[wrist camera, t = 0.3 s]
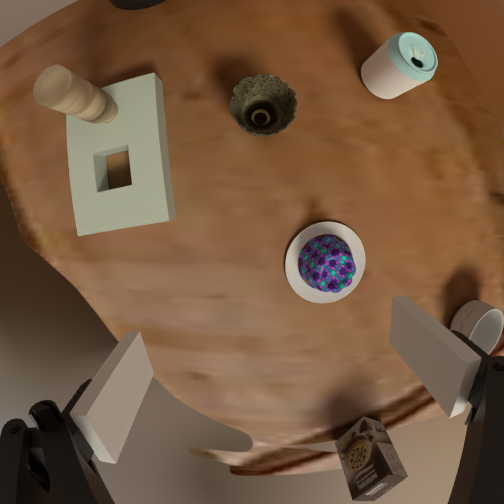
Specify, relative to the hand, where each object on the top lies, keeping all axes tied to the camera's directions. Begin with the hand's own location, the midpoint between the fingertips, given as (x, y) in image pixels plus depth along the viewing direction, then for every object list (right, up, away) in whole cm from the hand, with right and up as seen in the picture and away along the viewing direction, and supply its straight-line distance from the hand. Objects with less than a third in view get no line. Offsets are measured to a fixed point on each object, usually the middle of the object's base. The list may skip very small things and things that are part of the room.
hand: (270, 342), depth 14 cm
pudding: (+10, +3, +28) cm, 30 cm away
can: (+18, +30, +22) cm, 42 cm away
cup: (0, +22, +23) cm, 32 cm away
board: (-19, +18, +23) cm, 35 cm away
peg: (-20, +23, +18) cm, 36 cm away
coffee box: (+21, -33, +36) cm, 53 cm away
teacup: (+39, -10, +31) cm, 51 cm away
